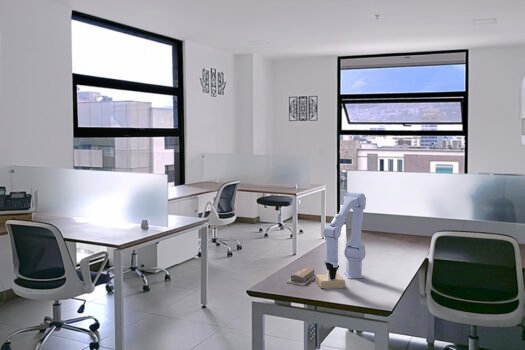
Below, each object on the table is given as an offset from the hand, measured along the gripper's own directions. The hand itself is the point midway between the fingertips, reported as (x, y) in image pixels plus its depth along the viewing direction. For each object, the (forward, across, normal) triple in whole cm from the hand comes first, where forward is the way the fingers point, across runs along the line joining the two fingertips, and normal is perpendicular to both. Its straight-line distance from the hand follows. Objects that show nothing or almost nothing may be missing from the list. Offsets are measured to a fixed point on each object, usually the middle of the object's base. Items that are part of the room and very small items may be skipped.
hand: (331, 278), depth 246 cm
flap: (+1, 0, 0) cm, 1 cm away
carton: (+4, -3, 0) cm, 5 cm away
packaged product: (+5, -13, -12) cm, 18 cm away
